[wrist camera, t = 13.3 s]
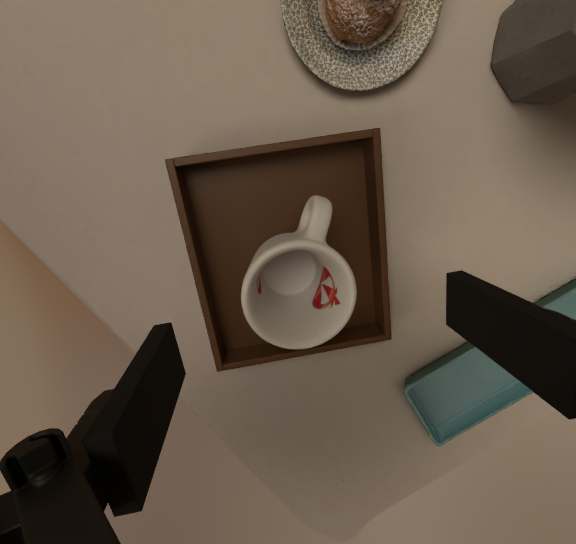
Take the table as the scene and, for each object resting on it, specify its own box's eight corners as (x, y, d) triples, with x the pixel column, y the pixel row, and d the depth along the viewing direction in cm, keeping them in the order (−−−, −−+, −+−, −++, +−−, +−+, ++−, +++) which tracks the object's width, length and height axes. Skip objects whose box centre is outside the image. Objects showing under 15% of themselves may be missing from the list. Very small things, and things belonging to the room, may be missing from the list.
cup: (266, 179, 27) (271, 180, 19) (353, 206, 28) (390, 217, 21) (234, 296, 30) (227, 338, 22) (315, 315, 31) (336, 361, 24)
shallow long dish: (616, 246, 33) (644, 251, 31) (634, 315, 36) (661, 325, 33) (392, 375, 35) (402, 390, 32) (425, 431, 37) (437, 448, 35)
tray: (220, 354, 32) (217, 372, 29) (174, 161, 26) (164, 159, 24) (379, 325, 33) (391, 339, 30) (366, 132, 27) (380, 127, 24)
